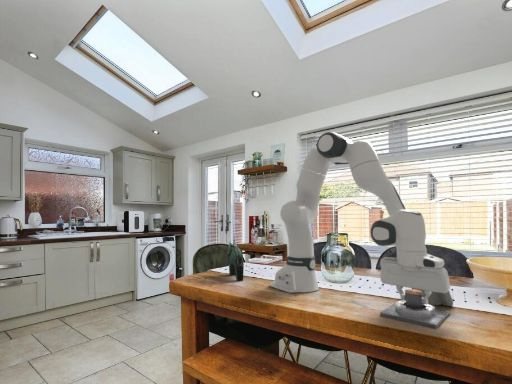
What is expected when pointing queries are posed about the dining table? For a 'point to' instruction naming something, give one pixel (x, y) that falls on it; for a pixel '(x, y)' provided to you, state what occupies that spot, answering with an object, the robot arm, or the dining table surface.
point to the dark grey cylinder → (413, 298)
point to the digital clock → (438, 298)
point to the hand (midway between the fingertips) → (414, 301)
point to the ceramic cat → (235, 261)
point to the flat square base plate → (416, 314)
